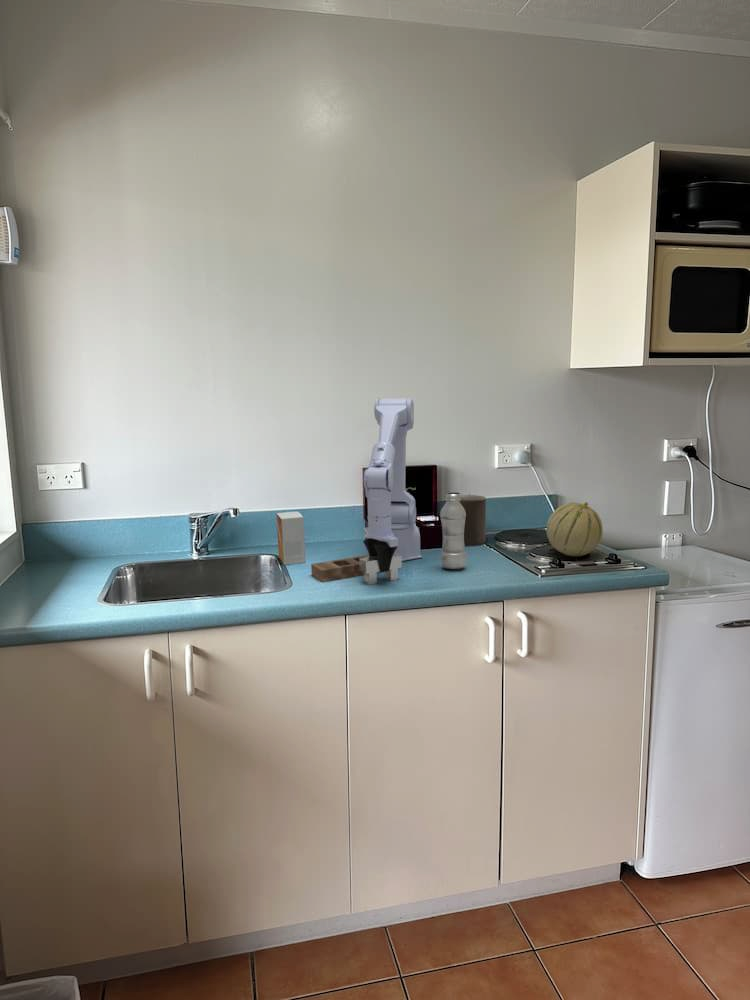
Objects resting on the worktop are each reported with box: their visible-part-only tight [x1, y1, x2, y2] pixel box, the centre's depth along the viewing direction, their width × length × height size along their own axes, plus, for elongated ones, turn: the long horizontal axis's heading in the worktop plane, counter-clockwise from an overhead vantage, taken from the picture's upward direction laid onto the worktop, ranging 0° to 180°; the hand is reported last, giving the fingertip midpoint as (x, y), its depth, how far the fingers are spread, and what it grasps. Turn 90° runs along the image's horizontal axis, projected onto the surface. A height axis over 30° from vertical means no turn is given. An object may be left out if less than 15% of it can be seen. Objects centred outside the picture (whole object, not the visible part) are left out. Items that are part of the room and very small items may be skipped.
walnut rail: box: [310, 554, 382, 583], centre depth 182 cm, size 20×7×3 cm, turn 118°
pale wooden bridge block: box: [359, 553, 403, 585], centre depth 174 cm, size 10×4×6 cm, turn 118°
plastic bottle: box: [439, 491, 467, 570], centre depth 182 cm, size 6×7×20 cm
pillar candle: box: [460, 492, 487, 547], centre depth 210 cm, size 10×10×15 cm
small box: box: [276, 511, 307, 566], centre depth 194 cm, size 8×6×13 cm
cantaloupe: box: [545, 502, 603, 557], centre depth 192 cm, size 15×15×15 cm
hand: (380, 569), depth 174 cm, fingers closed on pale wooden bridge block, 4 cm apart
